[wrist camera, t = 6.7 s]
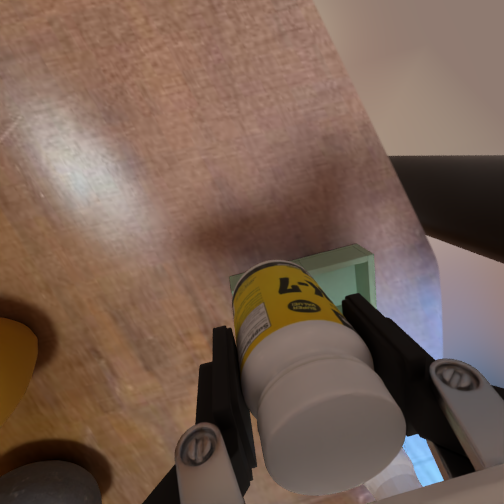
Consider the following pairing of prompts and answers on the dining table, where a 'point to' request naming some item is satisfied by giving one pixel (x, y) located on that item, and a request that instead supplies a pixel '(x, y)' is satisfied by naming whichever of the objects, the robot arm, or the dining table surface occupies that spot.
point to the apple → (15, 364)
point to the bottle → (394, 478)
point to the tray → (338, 273)
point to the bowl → (49, 484)
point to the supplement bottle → (310, 384)
